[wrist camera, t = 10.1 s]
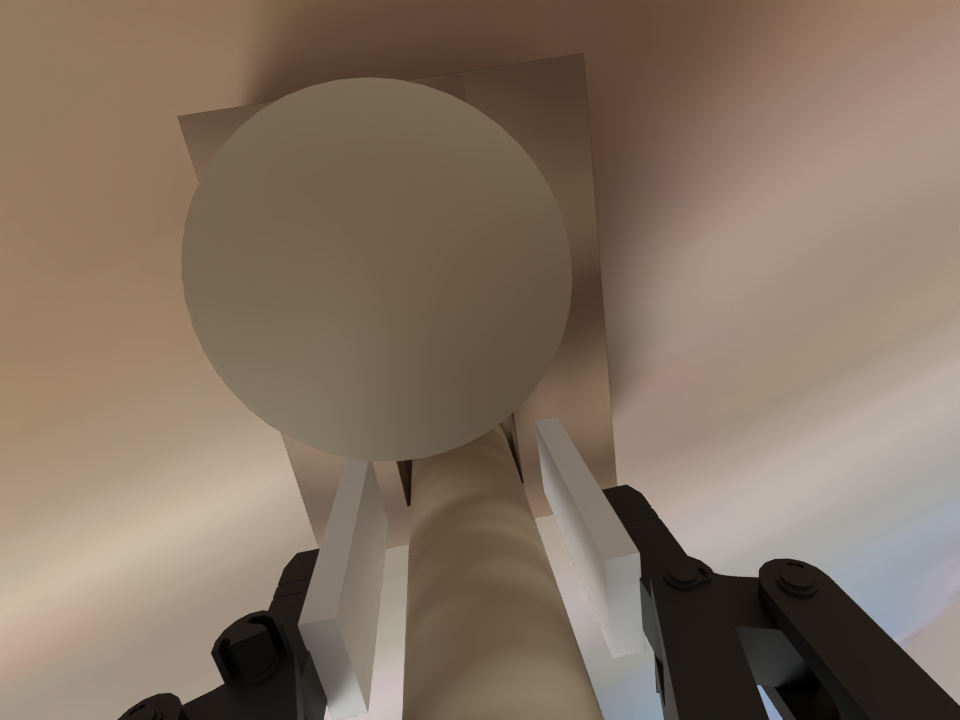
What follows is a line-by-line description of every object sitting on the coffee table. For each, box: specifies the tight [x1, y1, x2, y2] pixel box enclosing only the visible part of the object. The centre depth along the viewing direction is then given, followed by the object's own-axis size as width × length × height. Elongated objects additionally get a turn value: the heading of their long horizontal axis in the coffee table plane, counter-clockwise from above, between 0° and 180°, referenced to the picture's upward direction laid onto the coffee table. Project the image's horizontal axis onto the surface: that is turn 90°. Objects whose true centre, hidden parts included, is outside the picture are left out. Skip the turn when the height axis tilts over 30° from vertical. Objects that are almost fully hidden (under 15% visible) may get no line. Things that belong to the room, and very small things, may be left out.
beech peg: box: [402, 423, 604, 720], centre depth 14 cm, size 4×4×14 cm
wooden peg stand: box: [177, 53, 617, 549], centre depth 13 cm, size 16×12×16 cm
